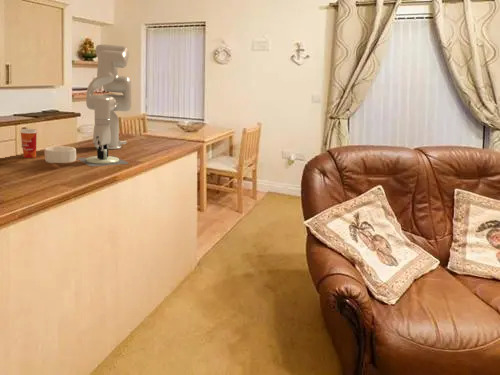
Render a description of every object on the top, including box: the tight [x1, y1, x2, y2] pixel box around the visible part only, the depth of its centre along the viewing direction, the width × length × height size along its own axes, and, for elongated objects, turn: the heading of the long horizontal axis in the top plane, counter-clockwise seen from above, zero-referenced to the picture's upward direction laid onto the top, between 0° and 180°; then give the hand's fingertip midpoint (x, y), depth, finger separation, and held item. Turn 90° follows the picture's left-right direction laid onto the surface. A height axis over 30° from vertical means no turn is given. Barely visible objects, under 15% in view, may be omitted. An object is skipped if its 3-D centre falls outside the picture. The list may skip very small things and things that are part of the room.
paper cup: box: [19, 128, 38, 159], centre depth 217 cm, size 8×8×14 cm
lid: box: [85, 149, 120, 164], centre depth 220 cm, size 16×16×6 cm
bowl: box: [43, 145, 77, 164], centre depth 215 cm, size 14×14×6 cm
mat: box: [76, 155, 130, 168], centre depth 221 cm, size 20×20×1 cm
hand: (102, 157), depth 221 cm, fingers closed on lid, 4 cm apart
